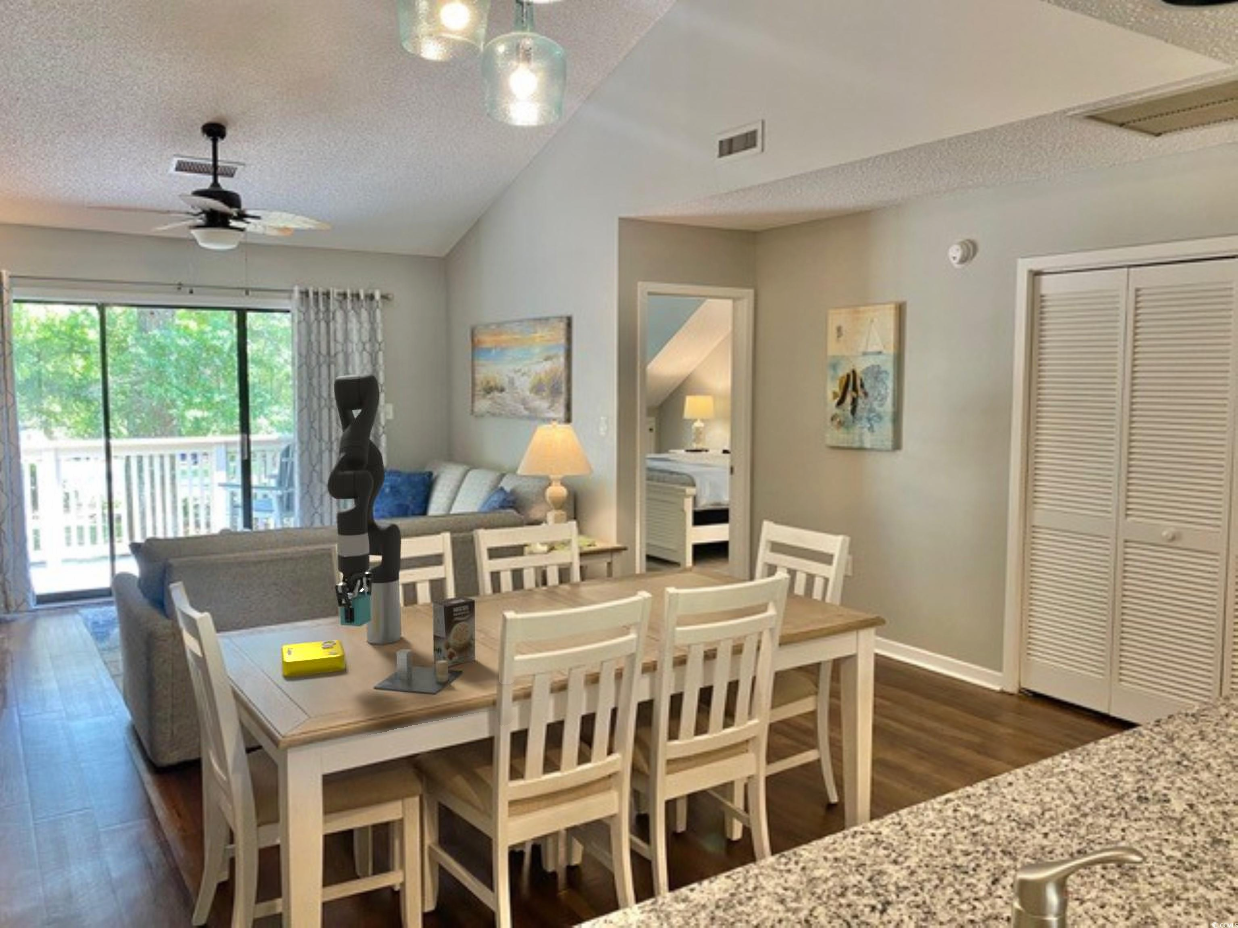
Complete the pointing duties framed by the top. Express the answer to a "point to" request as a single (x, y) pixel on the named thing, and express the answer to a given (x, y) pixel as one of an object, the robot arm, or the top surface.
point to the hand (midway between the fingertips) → (355, 618)
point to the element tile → (312, 658)
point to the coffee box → (454, 630)
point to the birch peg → (441, 671)
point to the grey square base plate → (414, 677)
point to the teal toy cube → (358, 610)
